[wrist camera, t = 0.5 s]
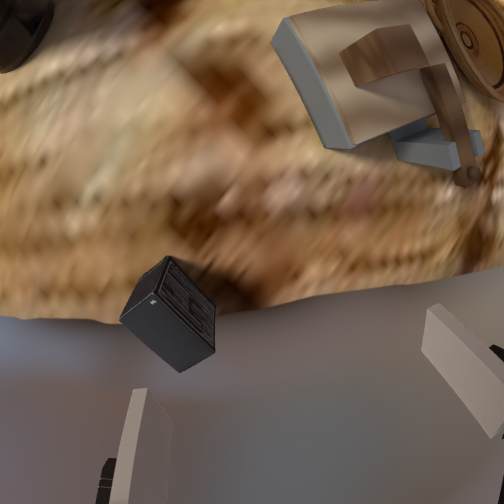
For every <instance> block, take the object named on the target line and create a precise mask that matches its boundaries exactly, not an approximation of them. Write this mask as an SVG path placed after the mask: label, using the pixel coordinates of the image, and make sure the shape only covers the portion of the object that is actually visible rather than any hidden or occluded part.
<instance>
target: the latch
mask: <svg viewBox="0 0 504 504" xmlns="http://www.w3.org/2000/svg"><path fill="white" fill-rule="evenodd" d="M419 70H420V72H421V74H422V77H423V79H424V81H425V84H426V86H427V89H428V92H429V94H430V97H431V99H432V102H433V105H434V108H435V111H436V114H437V117H438V120H439V123H440V126H441V129H442V132H443V136H444V139H445V141H450V142H455V143H456V146H457V150H458V154H459V159H460V163H461V167H460V168H458V169H456V170H454V171H453V175H454V180H455V184H456V185H457V186H461V187H464V188H467V187H468V186H470V185H472V184H473V183H475V182H476V181H478V180H479V179H480V177H481V171H480V169H479V168H478V167H477V166H476V161H475V156H474V152H473V147H472V143H471V139H470V135H469V131H468V128H467V124H466V121H465V117H464V114H463V111H462V108H461V105H460V101H459V99H458V96H457V93H456V90H455V87H454V85H453V82H452V79H451V77H450V74H449V72H448V69H447V67H446V64H445V63H442V64H437V65H432V66H428V67H424V68H420V69H419Z"/></svg>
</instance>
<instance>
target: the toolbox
mask: <svg viewBox="0 0 504 504" xmlns="http://www.w3.org/2000/svg"><path fill="white" fill-rule="evenodd" d="M290 17H291V16H290ZM290 17H286V18H283V20H282V22H281V23H280V25H279V27H278V29H277V31H276V33H275V35H274V36H273V38H272V40H271V44H272V46H273V48H274V49H275V51H276V53H277V54H278V56H279V58H280V60H281V62H282V63H283V65H284V67H285V69H286V71H287V72H288V74H289V76H290V78H291V80H292V82H293V84H294V86H295V88H296V90H297V91H298V93H299V95H300V97H301V99H302V101H303V103H304V105H305V107H306V110H307V112H308V114H309V116H310V118H311V120H312V122H313V124H314V126H315V129H316V131H317V133H318V135H319V137H320V140H321V142H322V144H323V146H324V148H340V149H351V148H354V147H356V146H358V145H360V144H363V143H365V142H367V141H370V140H372V139H375V138H377V137H379V136H382V135H384V134H386V133H389V134H390V137H391V140H392V142H393V145H394V148H395V151H396V154H397V157H398V160H399V161H404V162H410V163H416V164H422V165H428V166H433V167H438V168H443V169H448V170H453V171H454V170H456V169H458V168H460V167H461V163H460V159H459V154H458V150H457V146H456V143H455V142H450V141H445V139H444V136H443V132H442V129H441V128H427V126H426V123H425V120H424V118H426V117H429V116H432V115H434V114H436V113H433V114H430V115H428V116H425V117H423V118H420V119H417V120H415V121H412V122H410V123H407V124H405V125H402V126H400V127H397V128H395V129H392V130H390V131H387V132H385V133H382V134H380V135H378V136H375V137H373V138H371V139H368V140H366V141H363V142H361V143H359V144H351V141H350V139H349V136H348V134H347V132H346V129H345V127H344V125H343V122H342V120H341V118H340V116H339V113H338V111H337V109H336V107H335V105H334V103H333V100H332V98H331V96H330V94H329V92H328V90H327V88H326V86H325V84H324V82H323V80H322V78H321V76H320V74H319V72H318V70H317V69H316V67H315V65H314V63H313V61H312V59H311V57H310V56H309V54H308V52H307V50H306V48H305V47H304V45H303V43H302V42H301V40H300V38H299V36H298V35H297V33H296V31H295V30H294V28H293V27H292V25H291V23H290V22H289V18H290ZM460 105H462V103H461V104H460ZM468 131H469V135H470V139H471V143H472V147H473V152H474V156H481V155H483V154H484V153H485V152H484V147H483V142H482V138H481V134H480V130H468Z"/></svg>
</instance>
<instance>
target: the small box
mask: <svg viewBox="0 0 504 504" xmlns="http://www.w3.org/2000/svg"><path fill="white" fill-rule="evenodd" d="M215 308H216V306H215V305H214V304H213V303H212V302H211V301H210V300H209V299H208V298H207V297H206V296H205V294H204V293H203V292H202V291H201V290H200V289H199V288H198V287H197V286H196V285H195V284H194V283H193V282H192V280H191V279H190V278H189V277H188V276H187V275H186V274H185V273H184V272H183V271H182V269H181V268H180V267H179V266H178V265H177V264H176V263H175V262H174V261H173V260H172V259H171V257H170V256H166V257H164V258H163V260H162V261H160V262H159V263H158V264H157V265H155V266H154V267H153V268H152V269H150V270H149V271H148V272H146V273H145V274H144V275H143V276H142V277H141V278H140V279H139V281H138V283H137V285H136V287H135V288H134V290H133V292H132V294H131V296H130V298H129V300H128V302H127V304H126V306H125V308H124V310H123V312H122V314H121V316H120V317H119V321H120V322H121V323H122V324H123V325H124V326H125V327H126V328H128V329H129V330H130V331H131V332H132V333H133V334H134V335H135V336H136V337H137V338H139V339H140V340H141V341H142V342H143V343H144V344H145V345H146V346H148V347H149V348H150V349H151V350H152V351H154V352H155V353H156V354H157V355H158V356H159V357H160V358H162V359H163V360H164V361H165V362H166V363H168V364H169V365H170V366H171V367H172V368H174V369H175V370H176V371H177V372H179V373H181V372H183V371H185V370H187V369H188V368H190V367H192V366H194V365H196V364H197V363H199V362H201V361H202V360H204V359H206V358H208V357H209V356H210V355H212V354H214V353H215Z"/></svg>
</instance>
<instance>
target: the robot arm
mask: <svg viewBox="0 0 504 504" xmlns="http://www.w3.org/2000/svg"><path fill="white" fill-rule="evenodd" d="M53 13H54V3H53V0H0V73H6V72H9V71H11V70H13V69H15V68H16V67H18V66H19V65H20V64H21V63H23V62H24V61H25V60H26V59H27V58H28V57H29V56H30V55H31V54H32V52H33V51H34V50H35V49H36V48H37V46H38V45H39V43H40V42H41V40H42V39H43V37H44V36H45V34H46V32H47V30H48V28H49V26H50V23H51V21H52V18H53ZM421 351H422V352H423V353H424V355H425V356H426V357H427V358H428V359H429V360H430V362H431V363H432V364H433V365H434V366H435V368H436V369H437V370H438V371H439V372H440V374H441V375H442V376H443V377H444V379H445V380H446V381H447V382H448V383H449V385H450V386H451V387H452V388H453V390H454V391H455V392H456V394H457V395H458V396H459V397H460V399H461V400H462V401H463V402H464V403H465V405H466V406H467V408H468V409H469V410H470V412H471V413H472V414H473V416H474V417H475V418H476V420H477V421H478V422H479V424H480V425H481V426H482V428H483V429H484V430H485V432H486V433H487V434H488V436H489V437H490V439H492V438H493V437H494V436H495V435H496V434H498V433H499V432H500V431H501V430H502V429H503V428H504V349H502V348H500V347H498V346H496V345H492V346H491V347H489V348H488V347H487V346H486V345H485V344H484V343H483V342H482V341H481V340H480V339H479V338H478V337H477V336H476V335H474V334H473V333H472V332H471V331H470V330H469V329H468V328H467V327H466V326H465V325H463V324H462V323H461V322H460V321H459V320H458V319H457V318H456V317H455V316H453V315H452V314H451V313H450V312H449V311H448V310H446V309H445V308H444V307H443V306H442V305H441V304H439V303H438V304H436V305H434V306H431V307H429V308H427V315H426V323H425V330H424V336H423V343H422V349H421ZM171 433H172V421H171V420H170V418H169V417H168V416H167V414H166V413H165V412H164V411H163V409H162V407H161V406H160V405H159V403H158V402H157V401H156V399H155V398H154V396H153V395H152V393H151V392H150V391H149V389H148V388H143V389H134V390H133V392H132V396H131V401H130V404H129V408H128V412H127V416H126V421H125V425H124V429H123V433H122V438H121V442H120V447H119V452H118V457H117V459H115V458H108V460H107V461H106V463H105V465H104V466H103V469H102V473H101V480H100V483H99V488H98V493H97V499H96V504H167V488H168V471H169V456H170V445H171ZM502 439H504V434H503V437H502ZM498 504H504V476H503V482H502V487H501V492H500V496H499V500H498Z"/></svg>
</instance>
